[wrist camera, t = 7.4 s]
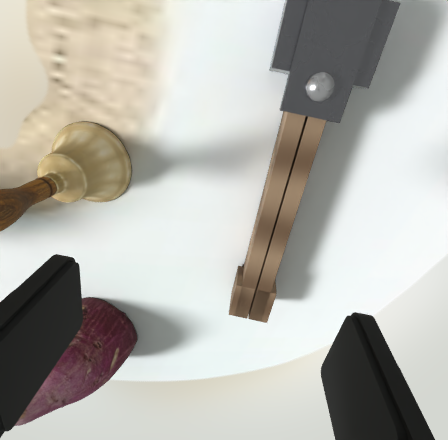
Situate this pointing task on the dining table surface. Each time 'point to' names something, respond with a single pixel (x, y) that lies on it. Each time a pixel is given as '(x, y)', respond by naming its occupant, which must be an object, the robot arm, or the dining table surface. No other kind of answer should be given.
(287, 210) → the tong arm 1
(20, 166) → the dining table surface
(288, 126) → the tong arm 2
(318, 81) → the hinge block
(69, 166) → the hand bell
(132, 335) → the vegetable
